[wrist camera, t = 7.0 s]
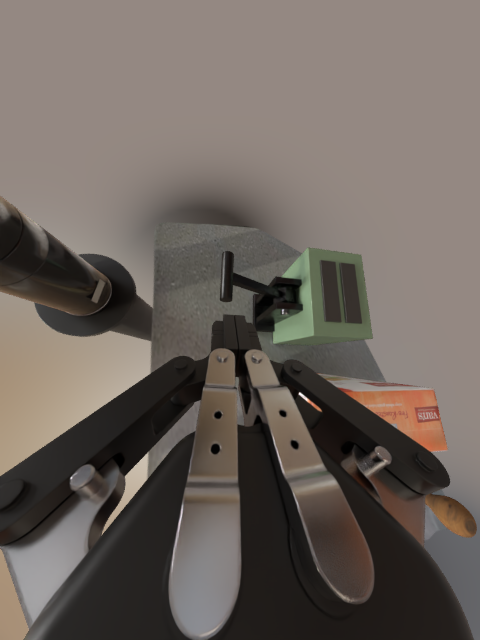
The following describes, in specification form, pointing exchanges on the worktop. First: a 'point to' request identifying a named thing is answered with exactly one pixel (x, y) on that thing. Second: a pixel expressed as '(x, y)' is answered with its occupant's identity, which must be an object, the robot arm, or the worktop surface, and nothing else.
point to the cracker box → (397, 407)
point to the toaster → (327, 300)
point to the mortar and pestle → (452, 514)
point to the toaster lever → (249, 284)
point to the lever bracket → (274, 306)
